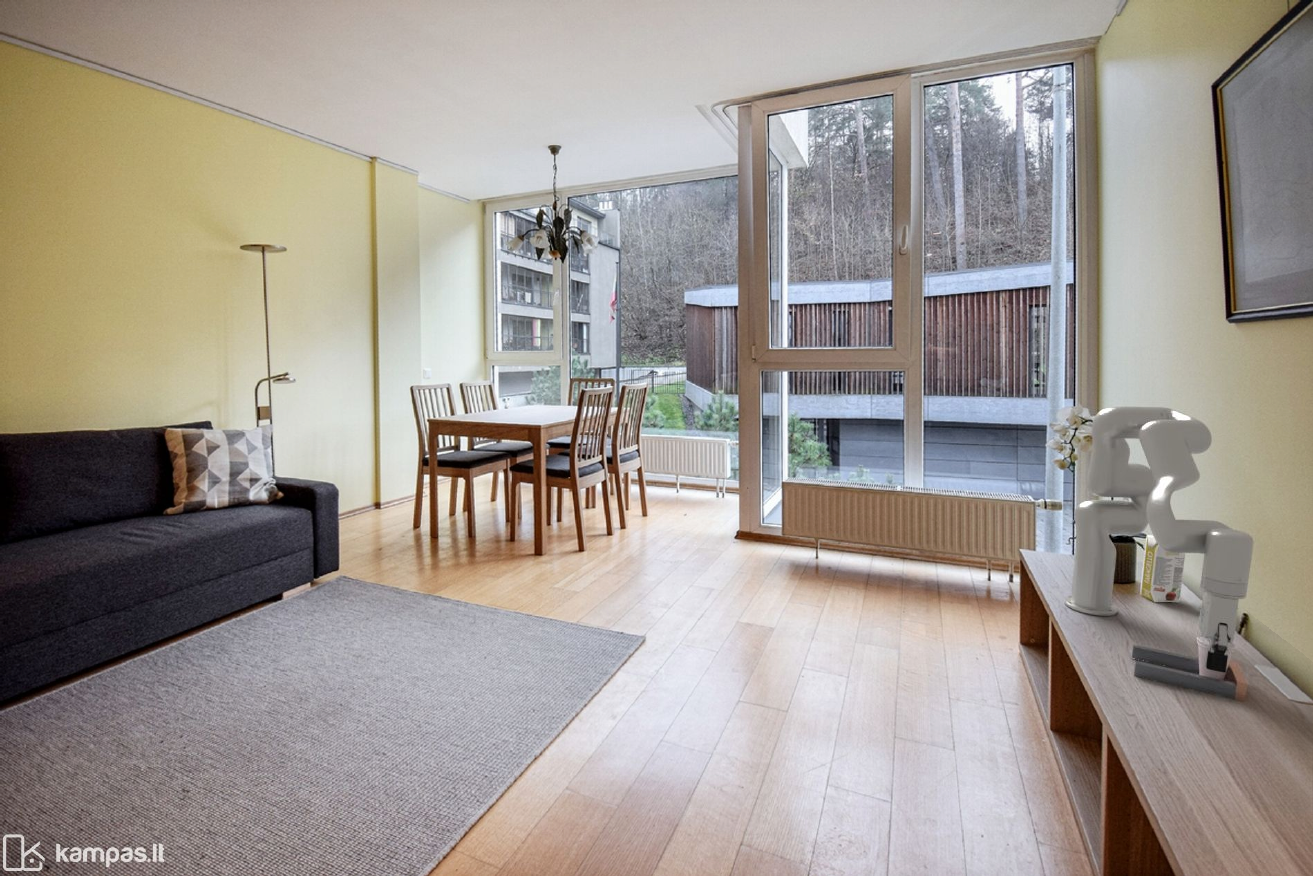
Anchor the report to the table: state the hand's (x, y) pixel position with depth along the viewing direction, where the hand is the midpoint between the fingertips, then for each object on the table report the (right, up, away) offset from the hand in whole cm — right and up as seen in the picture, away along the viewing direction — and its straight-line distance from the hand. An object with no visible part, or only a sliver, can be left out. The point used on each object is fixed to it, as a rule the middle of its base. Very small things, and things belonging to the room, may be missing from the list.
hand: (1213, 663), depth 139 cm
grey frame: (-4, -4, +3) cm, 7 cm away
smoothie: (0, -5, +1) cm, 5 cm away
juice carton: (+27, +1, +49) cm, 56 cm away
